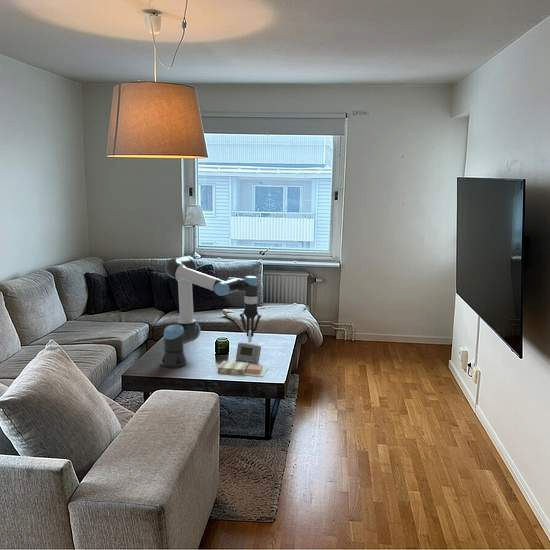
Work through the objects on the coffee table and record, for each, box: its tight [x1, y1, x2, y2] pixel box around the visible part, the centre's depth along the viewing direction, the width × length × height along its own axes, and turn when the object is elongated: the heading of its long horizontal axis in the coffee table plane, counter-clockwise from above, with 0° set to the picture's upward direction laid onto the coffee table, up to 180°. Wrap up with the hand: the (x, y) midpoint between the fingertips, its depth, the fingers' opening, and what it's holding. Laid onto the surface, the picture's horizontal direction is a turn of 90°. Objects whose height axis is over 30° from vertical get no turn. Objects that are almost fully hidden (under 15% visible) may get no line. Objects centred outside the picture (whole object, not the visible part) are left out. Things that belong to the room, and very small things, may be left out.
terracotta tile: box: [246, 364, 263, 374], centre depth 323 cm, size 8×7×2 cm
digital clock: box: [235, 342, 262, 364], centre depth 342 cm, size 16×9×11 cm, turn 55°
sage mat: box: [244, 367, 269, 378], centre depth 323 cm, size 11×14×1 cm
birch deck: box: [217, 360, 250, 376], centre depth 325 cm, size 16×12×3 cm
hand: (250, 341), depth 320 cm, fingers closed
